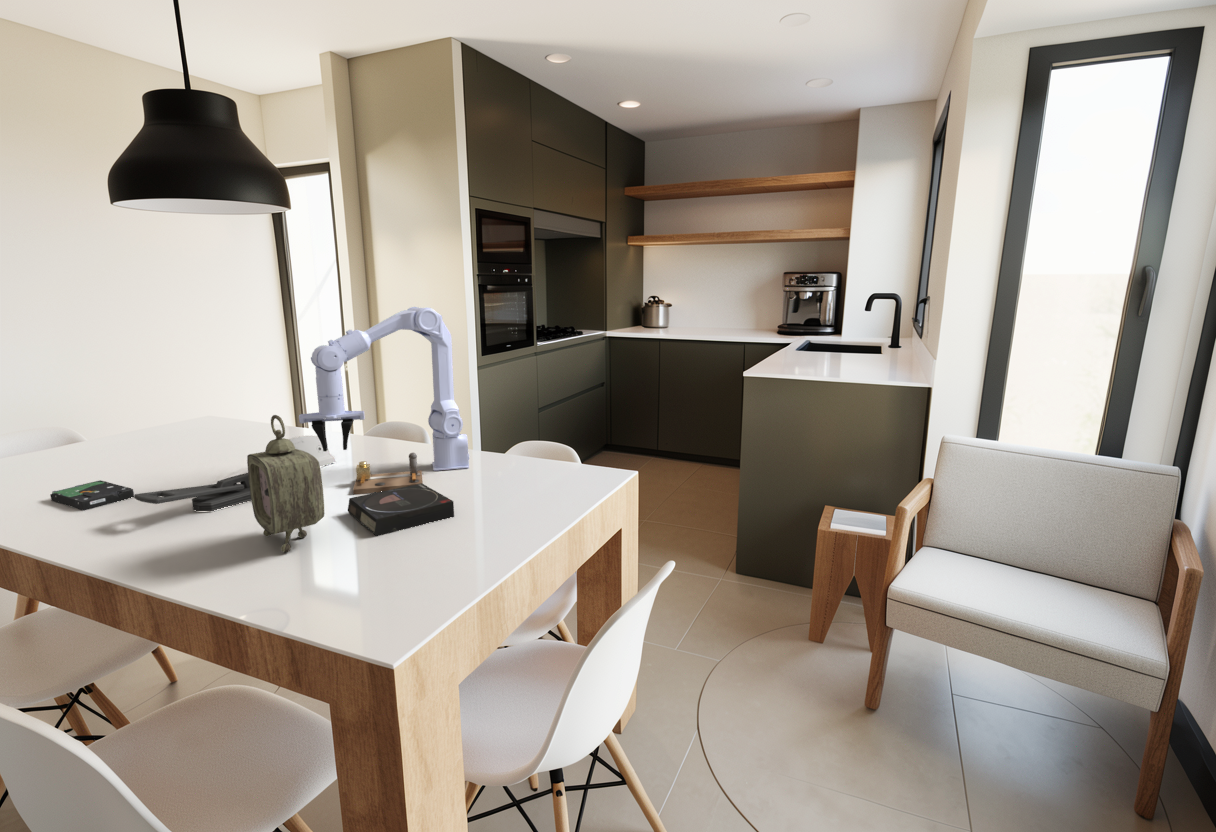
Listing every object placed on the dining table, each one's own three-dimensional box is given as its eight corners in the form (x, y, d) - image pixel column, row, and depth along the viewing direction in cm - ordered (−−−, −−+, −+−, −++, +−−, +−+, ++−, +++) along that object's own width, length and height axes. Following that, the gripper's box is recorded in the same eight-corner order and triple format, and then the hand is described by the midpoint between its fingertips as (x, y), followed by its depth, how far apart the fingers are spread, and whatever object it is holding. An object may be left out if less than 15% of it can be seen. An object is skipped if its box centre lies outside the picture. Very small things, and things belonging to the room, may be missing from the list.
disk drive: (136, 499, 145) (102, 490, 151) (134, 488, 144) (100, 479, 150) (84, 513, 136) (49, 502, 142) (82, 501, 135) (47, 491, 141)
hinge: (285, 478, 159) (272, 442, 158) (274, 482, 161) (261, 446, 160) (337, 462, 174) (325, 429, 173) (326, 465, 176) (314, 433, 175)
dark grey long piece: (128, 494, 126) (242, 464, 149) (133, 524, 128) (246, 490, 150) (154, 500, 123) (268, 468, 145) (159, 531, 124) (271, 495, 146)
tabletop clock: (255, 536, 121) (240, 413, 116) (303, 524, 127) (291, 406, 122) (279, 558, 111) (264, 424, 106) (330, 544, 117) (318, 417, 112)
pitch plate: (422, 474, 162) (420, 448, 161) (422, 488, 151) (421, 460, 150) (357, 480, 157) (355, 453, 156) (353, 494, 146) (350, 465, 145)
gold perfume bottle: (370, 475, 156) (369, 460, 155) (368, 483, 149) (367, 467, 148) (358, 476, 155) (356, 461, 154) (355, 484, 148) (354, 468, 147)
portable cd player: (348, 516, 134) (346, 498, 133) (422, 499, 144) (421, 483, 144) (374, 539, 121) (373, 519, 120) (454, 518, 132) (453, 501, 131)
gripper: (294, 399, 142) (300, 456, 145) (361, 396, 146) (365, 451, 149) (299, 394, 149) (305, 448, 151) (363, 391, 153) (367, 444, 156)
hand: (335, 449), depth 151 cm, fingers open, 4 cm apart
